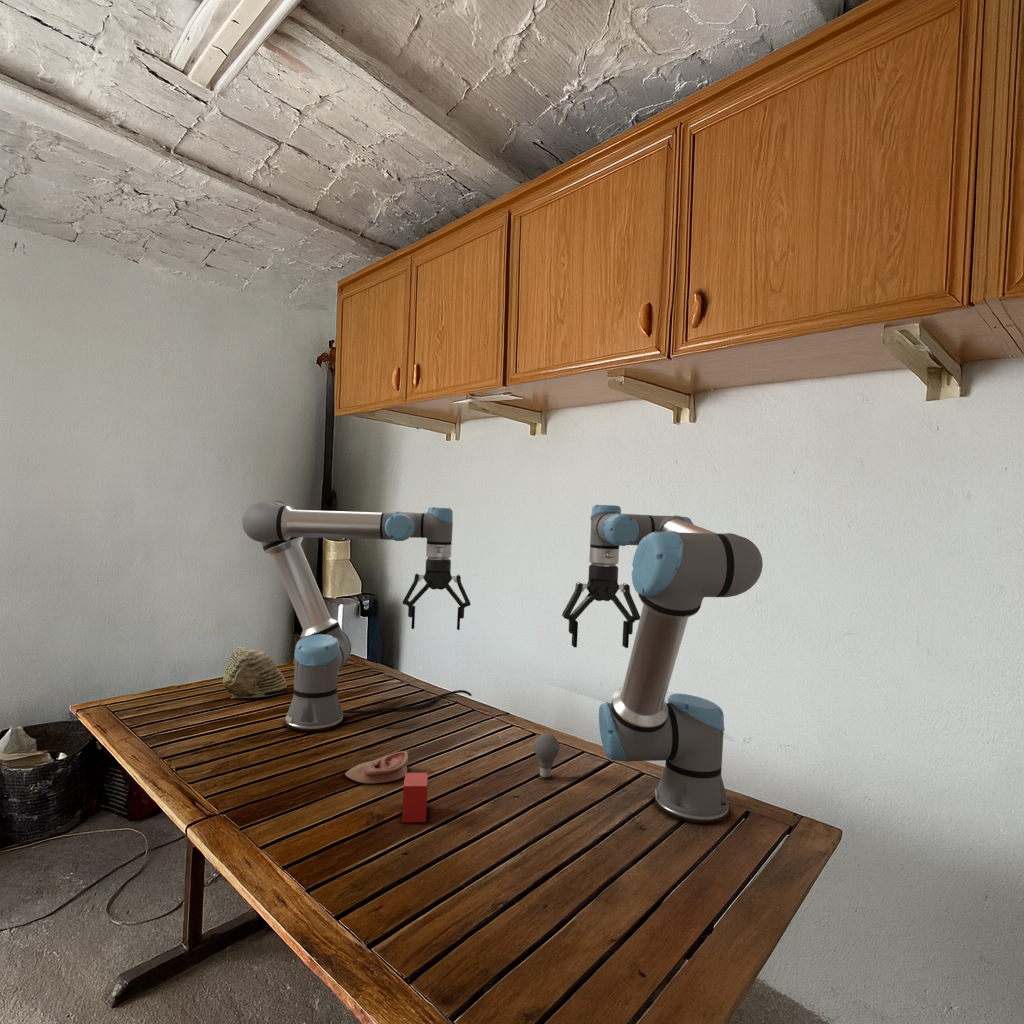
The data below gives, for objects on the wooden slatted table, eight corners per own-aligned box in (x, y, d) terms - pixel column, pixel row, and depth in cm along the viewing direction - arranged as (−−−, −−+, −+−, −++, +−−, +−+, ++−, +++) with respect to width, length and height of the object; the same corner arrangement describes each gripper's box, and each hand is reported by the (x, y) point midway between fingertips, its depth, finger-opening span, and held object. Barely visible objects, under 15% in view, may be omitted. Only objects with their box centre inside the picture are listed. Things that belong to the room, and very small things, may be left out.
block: (402, 822, 125) (403, 786, 125) (404, 807, 131) (405, 772, 131) (425, 822, 125) (427, 786, 125) (426, 807, 131) (428, 772, 131)
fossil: (218, 695, 195) (220, 647, 195) (278, 685, 208) (279, 640, 207) (228, 703, 189) (230, 653, 188) (289, 692, 201) (290, 645, 201)
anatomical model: (339, 762, 141) (361, 743, 153) (338, 780, 141) (361, 759, 153) (395, 770, 139) (413, 750, 150) (394, 788, 139) (413, 766, 150)
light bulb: (531, 771, 151) (532, 729, 150) (555, 771, 151) (557, 729, 151) (534, 782, 145) (535, 738, 145) (559, 782, 145) (561, 739, 145)
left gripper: (395, 558, 185) (392, 630, 186) (480, 560, 188) (477, 632, 188) (397, 555, 193) (394, 625, 193) (479, 558, 195) (476, 626, 196)
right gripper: (559, 564, 158) (555, 649, 158) (655, 567, 161) (651, 650, 162) (553, 561, 165) (549, 642, 166) (645, 564, 169) (641, 643, 169)
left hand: (435, 628), depth 191 cm, fingers open, 13 cm apart
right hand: (599, 646), depth 164 cm, fingers open, 13 cm apart
